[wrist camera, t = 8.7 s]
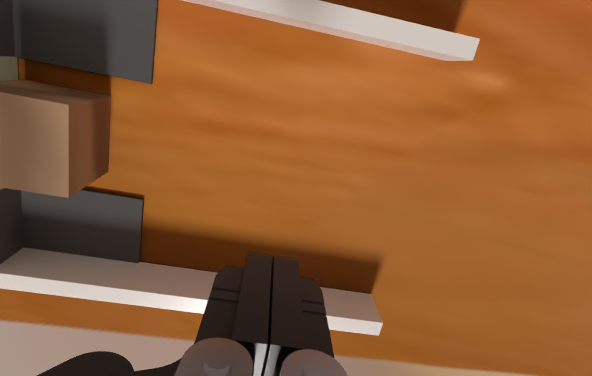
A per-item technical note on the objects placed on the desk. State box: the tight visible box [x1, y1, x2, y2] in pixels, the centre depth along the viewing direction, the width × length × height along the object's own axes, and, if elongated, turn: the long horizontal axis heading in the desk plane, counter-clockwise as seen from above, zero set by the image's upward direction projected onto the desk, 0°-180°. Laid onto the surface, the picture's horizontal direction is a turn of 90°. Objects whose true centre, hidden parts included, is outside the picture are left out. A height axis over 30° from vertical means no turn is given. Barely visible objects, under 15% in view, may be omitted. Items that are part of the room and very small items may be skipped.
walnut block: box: [0, 80, 111, 198], centre depth 18 cm, size 4×4×4 cm
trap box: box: [0, 0, 480, 336], centre depth 20 cm, size 24×18×3 cm
